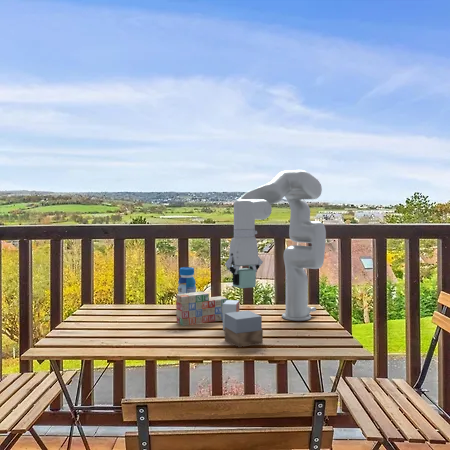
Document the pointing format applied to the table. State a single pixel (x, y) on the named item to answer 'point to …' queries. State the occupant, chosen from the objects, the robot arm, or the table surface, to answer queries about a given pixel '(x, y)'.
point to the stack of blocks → (198, 308)
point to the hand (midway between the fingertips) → (244, 283)
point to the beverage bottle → (186, 281)
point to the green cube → (246, 278)
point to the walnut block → (244, 337)
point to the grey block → (243, 321)
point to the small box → (230, 308)
